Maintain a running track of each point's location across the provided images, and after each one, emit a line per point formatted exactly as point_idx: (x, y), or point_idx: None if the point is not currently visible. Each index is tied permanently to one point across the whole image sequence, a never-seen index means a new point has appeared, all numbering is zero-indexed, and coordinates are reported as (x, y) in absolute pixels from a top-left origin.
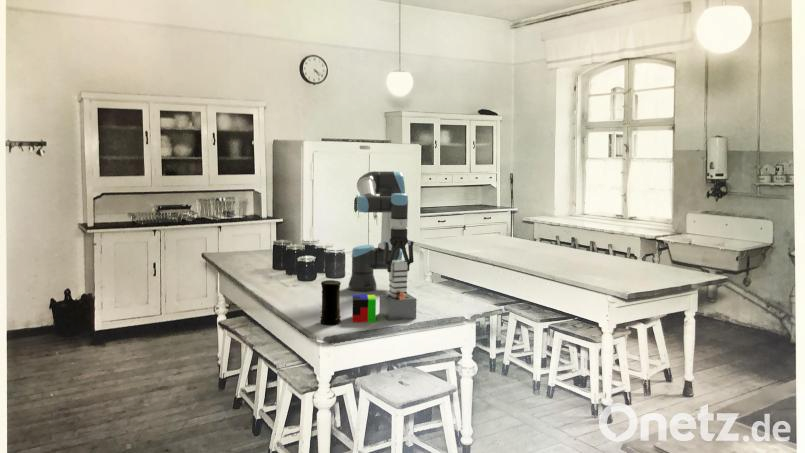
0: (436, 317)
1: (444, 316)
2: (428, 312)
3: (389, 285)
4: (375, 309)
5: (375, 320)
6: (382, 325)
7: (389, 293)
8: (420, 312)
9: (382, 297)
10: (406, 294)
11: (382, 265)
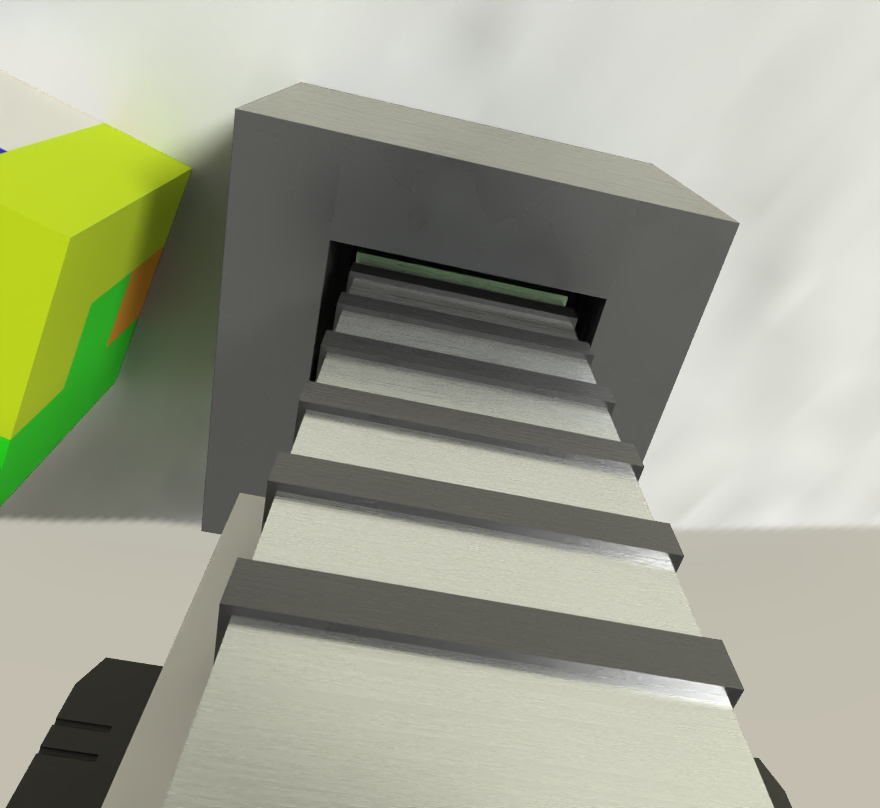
0: (744, 511)
1: (834, 517)
2: (837, 327)
3: (319, 358)
4: (48, 450)
5: (107, 389)
6: (139, 499)
7: (350, 288)
8: (766, 284)
9: (227, 261)
10: (648, 339)
11: None
